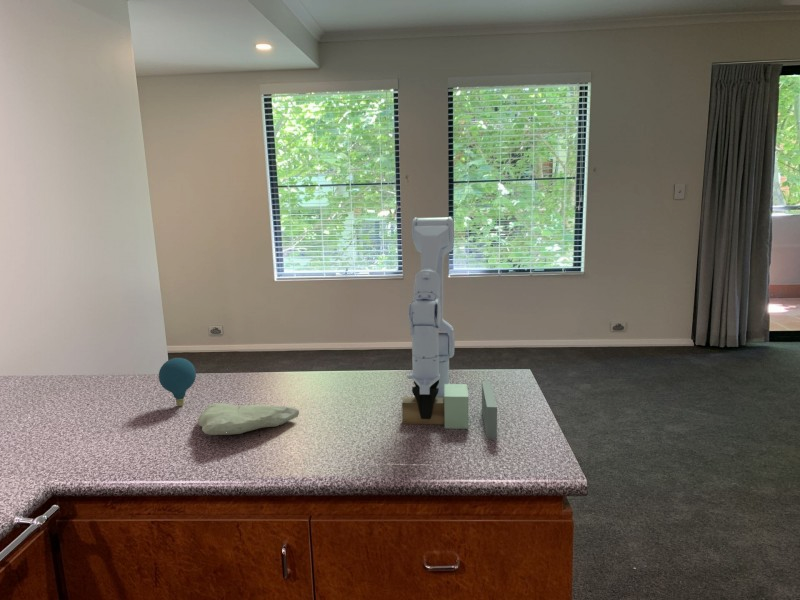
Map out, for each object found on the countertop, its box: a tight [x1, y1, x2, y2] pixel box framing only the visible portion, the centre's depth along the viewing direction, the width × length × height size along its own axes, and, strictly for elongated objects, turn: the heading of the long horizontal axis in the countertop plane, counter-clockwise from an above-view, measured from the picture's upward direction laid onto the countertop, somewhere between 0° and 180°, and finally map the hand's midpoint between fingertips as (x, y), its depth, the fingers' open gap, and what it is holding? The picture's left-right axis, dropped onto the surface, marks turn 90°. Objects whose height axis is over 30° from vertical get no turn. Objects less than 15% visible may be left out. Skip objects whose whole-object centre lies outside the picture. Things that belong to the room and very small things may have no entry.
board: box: [481, 380, 498, 440], centre depth 115 cm, size 16×2×7 cm, turn 175°
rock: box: [197, 402, 300, 436], centre depth 115 cm, size 24×6×20 cm
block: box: [444, 383, 469, 430], centre depth 117 cm, size 8×5×7 cm, turn 175°
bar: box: [401, 396, 445, 425], centre depth 118 cm, size 4×12×5 cm, turn 85°
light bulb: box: [158, 357, 197, 407], centre depth 130 cm, size 8×8×12 cm
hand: (426, 414), depth 118 cm, fingers closed on bar, 3 cm apart
